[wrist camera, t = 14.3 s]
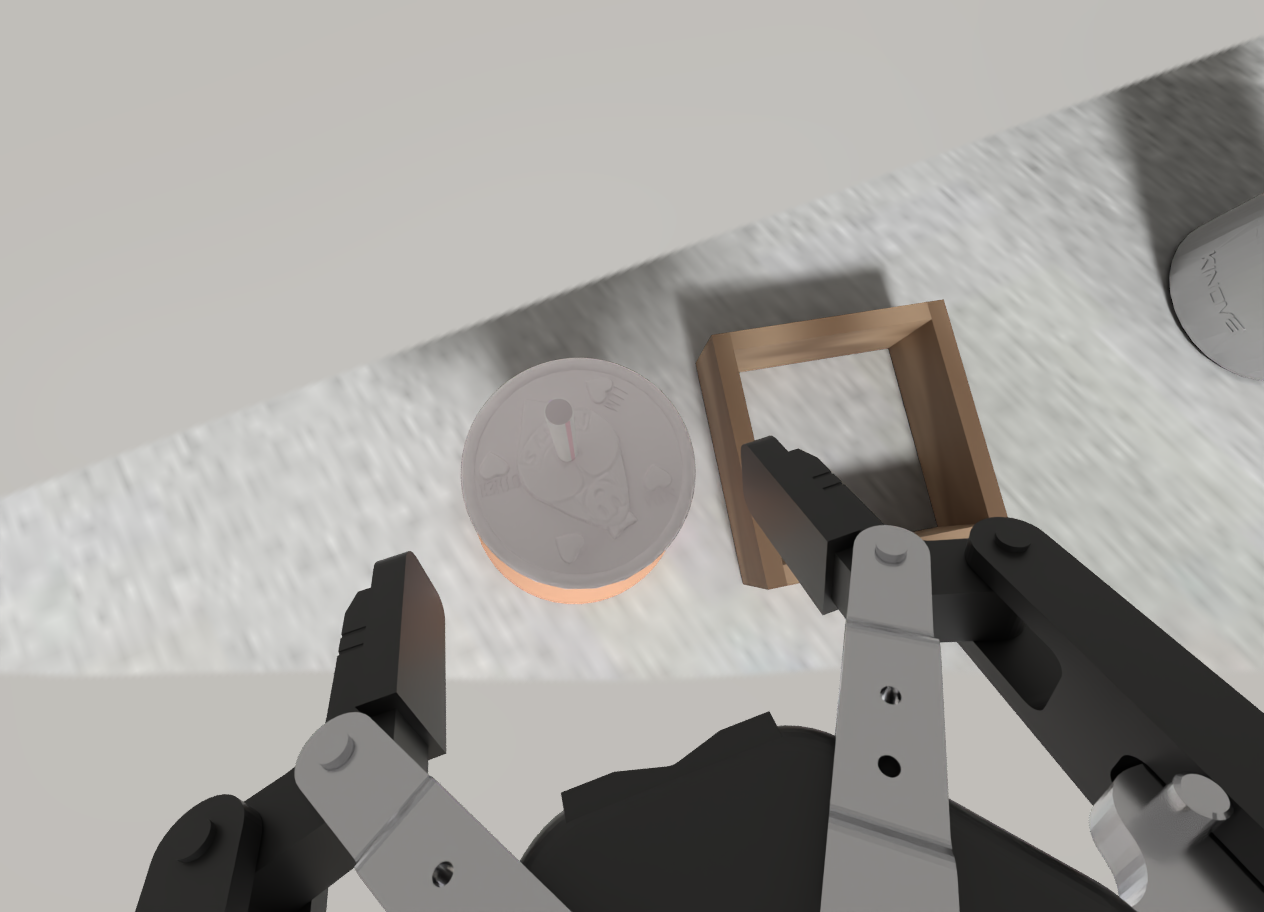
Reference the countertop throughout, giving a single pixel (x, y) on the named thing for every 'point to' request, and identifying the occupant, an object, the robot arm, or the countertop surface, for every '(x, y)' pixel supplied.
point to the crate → (929, 398)
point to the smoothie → (578, 473)
